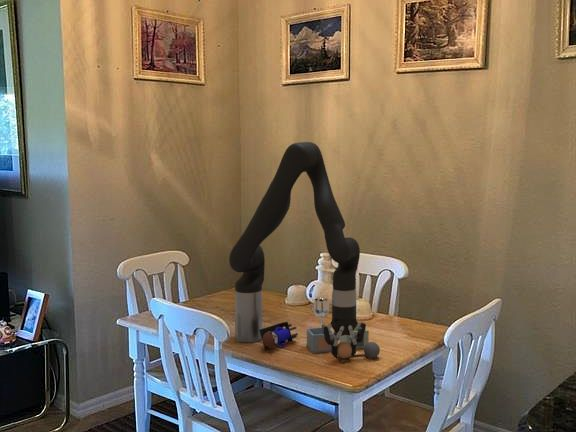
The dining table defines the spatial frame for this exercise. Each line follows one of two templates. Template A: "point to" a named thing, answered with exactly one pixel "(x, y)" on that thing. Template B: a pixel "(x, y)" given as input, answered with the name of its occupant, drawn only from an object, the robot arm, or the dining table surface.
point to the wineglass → (321, 308)
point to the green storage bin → (347, 339)
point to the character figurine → (277, 335)
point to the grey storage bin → (318, 340)
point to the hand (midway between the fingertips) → (343, 355)
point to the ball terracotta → (344, 350)
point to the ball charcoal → (371, 350)
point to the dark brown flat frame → (355, 356)
